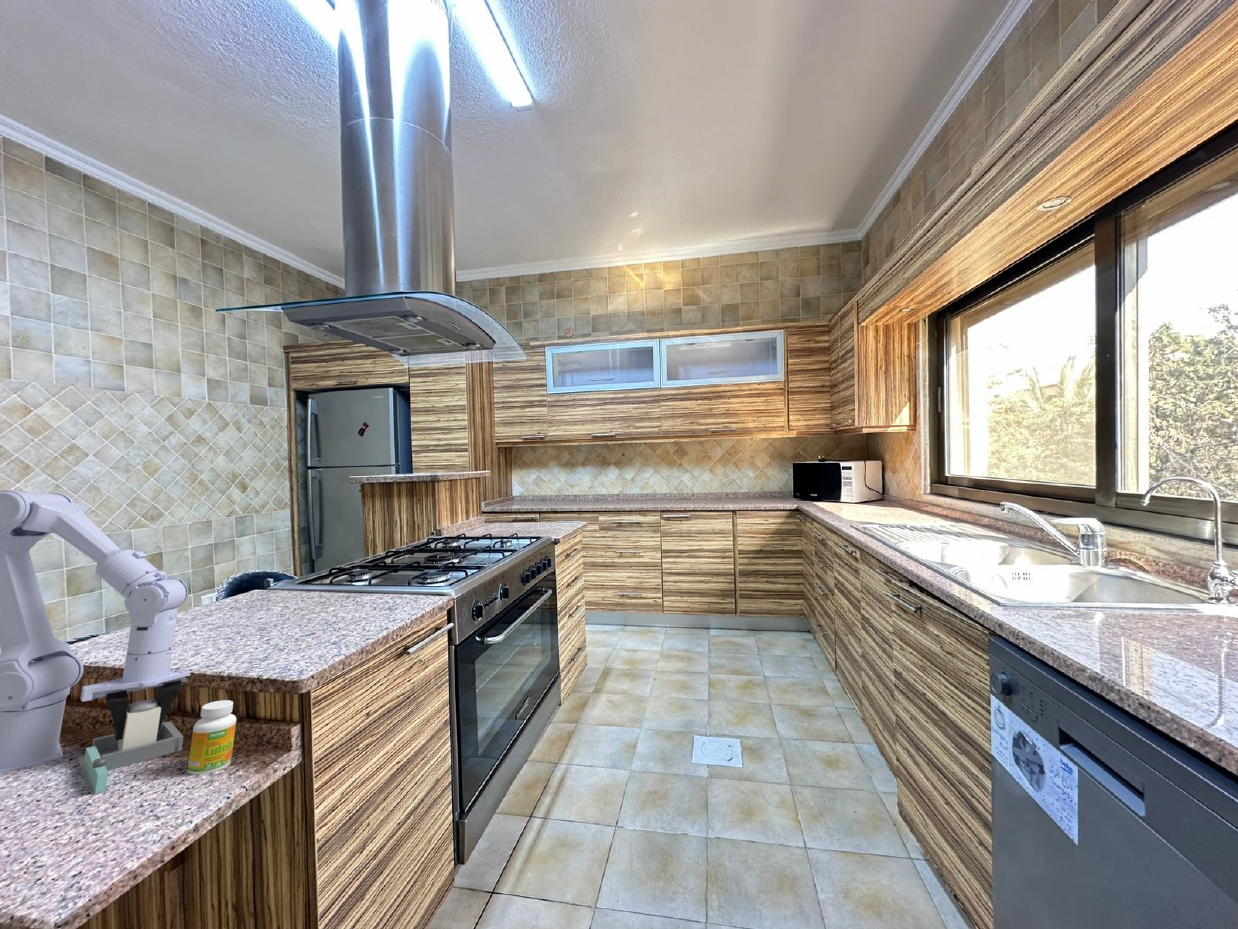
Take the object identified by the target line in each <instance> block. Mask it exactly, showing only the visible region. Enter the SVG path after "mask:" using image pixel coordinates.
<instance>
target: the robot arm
mask: <svg viewBox="0 0 1238 929" xmlns="http://www.w3.org/2000/svg"><path fill="white" fill-rule="evenodd" d="M51 534H55V535H57V536H58V537H60V538H62V539H63V540H65V541H66V542H67V543H68V544H70V545H72V546H73V547H74V548H75V549H77V550H78V551H80V552H82V553H83V555H85V556H86V557H88V558H89V559H91V560H93V561H94V562H95V563H96V566H95V567H96V568H95V574H96V575H97V576H99V578H101V579H102V580H103V581H104V582H106V583H107V584H108V585H109V586H110V587H111V588H113V589H114V590H115V591H117V592H118V593H119V594H120V595H121V596H122V597H124V598H125V599H124V607H125V609H126V611H127V612H128V613H129V615H130V619H129V624H130V629H129V635H128V643H127V648H126V655H125V659H124V661H125V662H124V668H123V672H122V673H123V674H122V677H121V678H116V679H113V680H112V679H111V680H108V681H104V682H99V683H94V684H90V685H84V686H82V689H81V693H80V698H79V699H80V701H81V702H84V703H85V702H89V701H92V700H93V699H98V698H103V699H104V700H105V702H106V705H107V707H108V708H109V709H108V710H109V712H110V714H111V716H112V717H111V718H112V720H113V725H114V726H113V727H114V734H115V739H116V740H121V739H122V737H123V732H124V727H125V717H126V712H127V708H128V705H130V699H129V693H132V692H137V691H141V690H146V689H152V688H156V700H158V703H157V704H158V705H159V706H160V708H161V712H160V719H159V725H158V731H159V730H160V728H161V725H162V723H163V722H164V720H165V717H166V716H167V713H168V711H169V709H170V708H171V706H172V705H173V703H174V702H175V700H176V698H177V697H178V696H179V695H180V693H181V692H182V690H183V685H182V683H184V682H188V681H187V678H185V677H186V676H190V675H191V674H190V673H191V672H192V671H194V670H192V671H188V670H183V671H182V670H181V669H182V668H180V669H171V661H172V655H173V654H172V653H173V648H174V640H175V634H176V627H177V619H178V614H179V613H178V612H179V608H180V607H181V606H183V604H184V603H185V602H186V601H187V599H188V597H189V590H188V586H187V584H186V583H185V582H184V581H183V579H182V578H178V577H168V576H167V575H168V574H167V573H166V572H165V571H164V570H159V569H158V568H156V566H154V565H153V564H152V563H150V562H149V561H148V560H147V559H146V557H147V554H146V553H144V551H142V550H141V551H136V550H134V549H127V548H126V549H121V548H120V547H119V546H118V545H117V544H115V542H113V540H112V539H110V537H108V536H107V535H106V534H105V533H104V532H103V531H102V530H101V528H99V527H98V525H96V524H95V523H94V522H93V521H92V520H91V519H90V518H89V517H87V515H86V514H85V513H84V509H83V506H82V505H80V504H79V503H76V502H74V500H73V499H72V498H71V497H70V496H69V495H67V494H64V493H60V492H50V493H48V492H35V491H34V492H31V491H18V490H13V489H1V490H0V650H1V652H0V774H3V773H6V772H11V771H14V770H19V769H23V768H26V767H31V766H35V765H39V764H44V763H48V762H51V761H55V760H59V759H63V757H64V754H63V750H62V747H61V745H60V736H61V731H62V724H63V720H64V713H65V709H66V708H65V707H66V702H67V696H68V695H70V692H71V688H72V687H74V686H75V685H77V684H78V682H80V680H81V678H82V677H83V673H84V665H83V661H82V660H81V659H80V658H79V657H78V656H77V655H76V654H75V653H74V651H73V650H72V647H71V645H70V644H69V643H68V642H65V641H64V640H62V639H59V638H57V637H55V636H54V633H53V630H52V626H51V622H50V619H49V616H48V613H47V608H46V606H45V603H44V602H45V601H44V599H43V595H42V592H41V587H40V585H39V582H38V581H39V580H38V577H37V575H36V571H35V568H34V565H33V560H32V557H31V553H30V551H31V549H32V548H33V547H34V546H35V545H36V544H37V543H38V542H39V541H41V540H43V539H44V538H46V537H48V536H50V535H51ZM30 662H31V663H30ZM170 669H171V670H170ZM178 670H179V671H178ZM175 671H177V672H175ZM185 671H188V672H185Z"/></svg>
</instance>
